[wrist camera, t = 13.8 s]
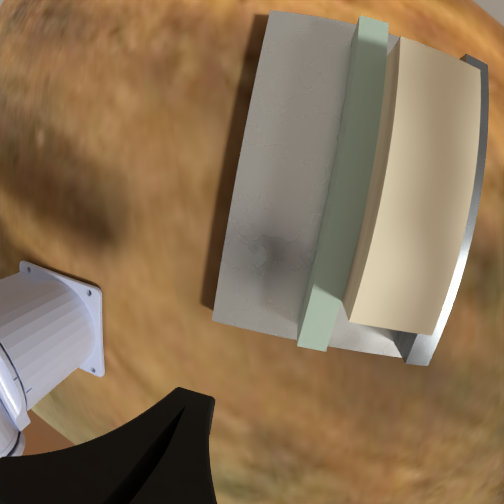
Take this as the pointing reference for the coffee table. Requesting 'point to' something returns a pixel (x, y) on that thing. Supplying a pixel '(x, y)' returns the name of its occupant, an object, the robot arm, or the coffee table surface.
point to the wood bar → (416, 190)
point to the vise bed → (306, 188)
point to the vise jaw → (346, 184)
